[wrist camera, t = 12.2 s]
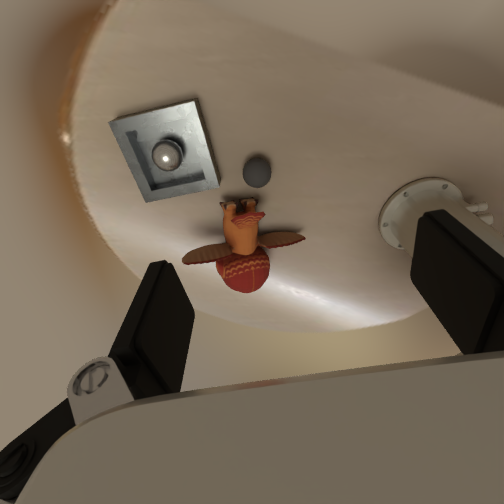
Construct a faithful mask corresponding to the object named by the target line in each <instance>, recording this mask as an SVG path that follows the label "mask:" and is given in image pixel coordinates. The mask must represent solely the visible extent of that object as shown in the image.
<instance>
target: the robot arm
mask: <svg viewBox="0 0 504 504" xmlns="http://www.w3.org/2000/svg"><path fill="white" fill-rule="evenodd" d="M487 209H488V204H487V203H486V202H478V203H475V204H469V203H467V202H465V201H464V200H463V195H462V193H461V191H460V190H459V189H458V188H457V187H456V186H455V185H454V184H452V183H451V182H449V181H447V180H444V179H440V178H425V179H420V180H417V181H414V182H412V183H410V184H408V185H406V186H404V187H402V188H401V189H400V190H398V191H397V192H396V193H395V194H394V195H393V196H392V197H391V198H390V199H389V200H388V201H387V202H386V204H385V205H384V207H383V209H382V211H381V214H380V217H379V224H378V225H379V231H380V233H381V236H382V237H383V239H384V240H385V241H386V242H387V243H388V244H389V245H391V246H392V247H394V248H397V249H401V250H406V252H407V253H408V254H409V255H410V257H411V258H412V265H411V272H410V276H411V280H412V282H413V284H414V285H415V287H416V288H417V290H418V291H419V293H420V294H421V295H422V297H423V298H424V300H425V301H426V302H427V304H428V305H429V307H430V308H431V309H432V311H433V312H434V314H435V315H436V317H437V318H438V319H439V321H440V322H441V324H442V325H443V326H444V328H445V329H446V330H447V332H448V333H449V335H450V336H451V338H452V339H453V341H454V342H455V343H456V345H457V346H458V347H459V349H460V351H461V352H460V353H459V354H457V355H455V356H450V357H442V358H434V359H426V360H418V361H410V362H402V363H394V364H386V365H378V366H370V367H362V368H355V369H347V370H339V371H331V372H324V373H316V374H308V375H302V376H293V377H286V378H278V379H270V380H263V381H256V382H248V383H241V384H234V385H226V386H219V387H212V388H204V389H197V390H191V391H185V392H180V389H181V384H182V380H183V374H184V369H185V364H186V359H187V354H188V349H189V344H190V339H191V334H192V328H193V323H194V318H195V313H194V309H193V307H192V304H191V302H190V300H189V298H188V296H187V294H186V292H185V290H184V288H183V285H182V283H181V281H180V279H179V277H178V275H177V273H176V271H175V269H174V267H173V265H172V263H168V262H167V261H166V260H162V261H157V262H152V263H150V264H149V266H148V268H147V271H146V273H145V275H144V277H143V279H142V282H141V284H140V286H139V288H138V290H137V293H136V295H135V297H134V299H133V302H132V304H131V306H130V308H129V310H128V312H127V315H126V317H125V319H124V322H123V323H122V326H121V328H120V330H119V332H118V334H117V337H116V339H115V341H114V343H113V345H112V348H111V350H110V353H109V355H108V357H99V358H96V359H93V360H92V361H89V362H88V363H86V364H85V365H84V366H82V367H81V368H80V369H79V370H78V371H77V372H76V373H75V374H74V375H73V377H72V379H71V380H70V382H69V385H68V388H67V396H68V398H66V399H65V400H64V401H63V402H61V403H60V404H59V405H58V406H57V407H55V408H54V409H52V410H51V411H50V412H49V413H48V414H46V415H45V416H44V417H42V418H41V419H40V420H39V421H37V422H36V423H35V424H33V425H32V426H31V427H30V428H28V429H27V430H26V431H24V432H23V433H22V434H21V435H19V436H18V437H17V438H16V439H14V440H13V441H12V442H10V443H9V444H8V445H7V446H6V447H5V448H4V449H3V450H2V451H1V452H0V504H504V236H503V235H502V234H501V233H499V232H498V231H497V230H495V229H494V228H492V227H491V226H490V225H492V224H493V216H492V215H491V214H490V213H485V214H479V215H475V214H473V213H472V212H480V211H486V210H487Z"/></svg>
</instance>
